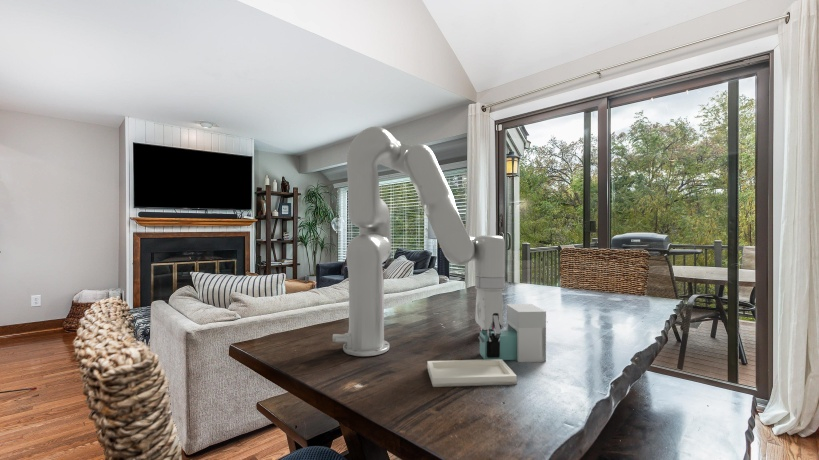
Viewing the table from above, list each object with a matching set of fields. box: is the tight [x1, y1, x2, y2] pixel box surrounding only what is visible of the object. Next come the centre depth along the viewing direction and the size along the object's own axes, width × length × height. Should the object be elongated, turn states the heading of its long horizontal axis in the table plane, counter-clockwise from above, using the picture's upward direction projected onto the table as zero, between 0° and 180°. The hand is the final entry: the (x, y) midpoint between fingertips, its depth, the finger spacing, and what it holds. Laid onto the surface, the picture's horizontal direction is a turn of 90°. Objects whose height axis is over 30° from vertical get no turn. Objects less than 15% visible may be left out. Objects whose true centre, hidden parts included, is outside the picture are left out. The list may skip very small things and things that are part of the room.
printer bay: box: [505, 303, 547, 363], centre depth 97 cm, size 7×9×12 cm
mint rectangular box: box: [477, 330, 517, 361], centre depth 96 cm, size 14×5×7 cm, turn 94°
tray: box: [426, 359, 518, 388], centre depth 83 cm, size 18×10×2 cm, turn 94°
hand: (489, 352), depth 96 cm, fingers closed on mint rectangular box, 5 cm apart
